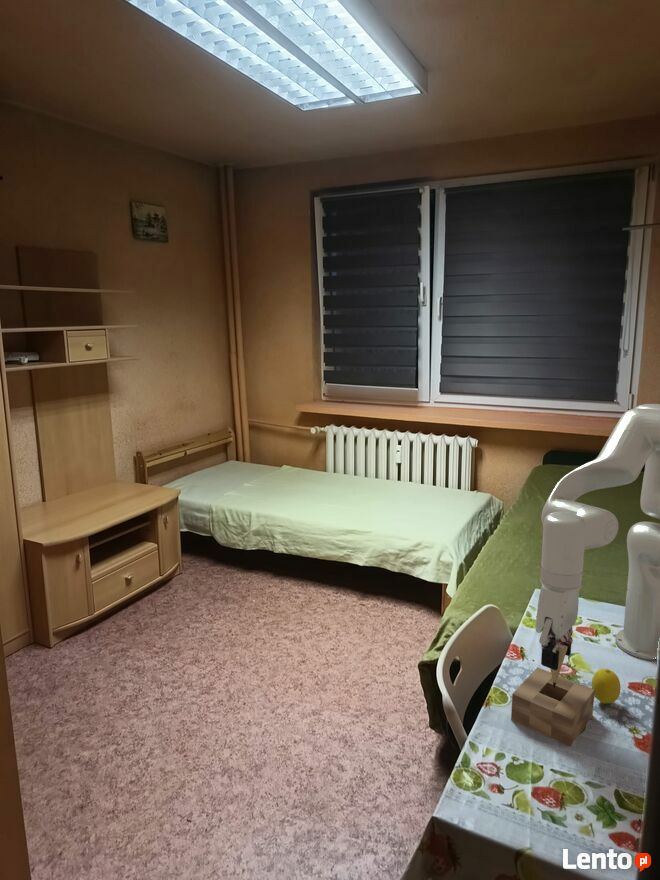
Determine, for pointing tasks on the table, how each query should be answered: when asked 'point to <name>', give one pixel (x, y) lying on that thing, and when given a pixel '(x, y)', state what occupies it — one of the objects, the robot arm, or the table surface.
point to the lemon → (606, 686)
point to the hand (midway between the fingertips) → (556, 659)
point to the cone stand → (553, 706)
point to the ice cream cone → (561, 653)
